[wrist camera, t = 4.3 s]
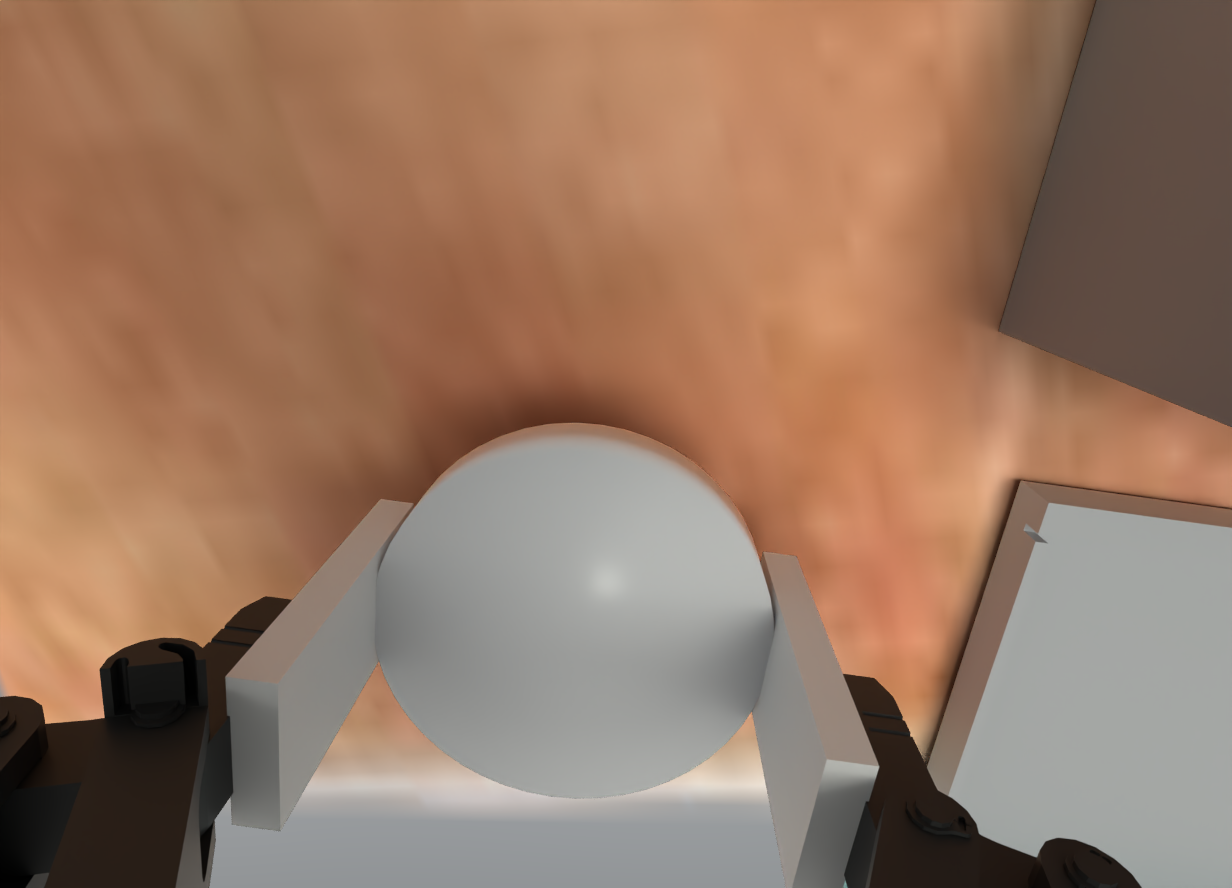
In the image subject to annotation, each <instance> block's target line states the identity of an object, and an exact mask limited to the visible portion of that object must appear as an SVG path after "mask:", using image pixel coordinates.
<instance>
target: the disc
mask: <svg viewBox="0 0 1232 888" xmlns="http://www.w3.org/2000/svg"><path fill="white" fill-rule="evenodd" d="M773 636H774V618H773V611H772V605H771V598H770V594H769V591H768V587H767V584H766V580H765V577H764V573H763V570H762V567H761V563H760V560H759V556H758V553H757V550H756V547H755V544H754V540H753V537H752V535H751V533H750V531H749V529H748V527H747V525H746V522H745V520H744V518H743V516H742V515H741V513H740V512H739V510H738V509H737V507H736V506H735V504H734V503H733V501H732V500H731V498H730V497H729V496H728V494H727V493H726V492H725V491H724V490H723V489H722V488H721V487H720V485H719V484H718V483H717V482H716V481H715V480H714V479H713V478H712V477H711V476H710V475H709V474H707V473H706V472H705V471H704V470H703V469H702V468H700V467H699V466H698V465H697V464H696V463H695V462H693V461H691V460H690V459H688V458H687V457H685V456H684V455H682V454H681V453H679V452H678V451H676V450H675V449H673V448H671V447H669V446H667V445H665V444H663V443H660V442H658V441H656V440H654V439H652V438H650V437H647V436H644V435H641V434H638V433H635V432H632V431H629V430H626V429H621V428H616V427H611V426H606V425H601V424H588V423H556V424H546V425H540V426H535V427H529V428H524V429H521V430H518V431H514V432H511V433H508V434H505V435H502V436H499V437H497V438H495V439H493V440H491V441H489V442H487V443H485V444H482V445H480V446H478V447H477V448H475V449H474V450H472V451H471V452H469V453H467V454H466V455H464V456H463V457H461V458H460V459H458V460H457V461H456V462H455V463H454V464H453V465H451V466H450V467H449V468H448V469H447V470H446V471H445V472H443V473H442V474H441V475H440V476H439V477H438V479H437V480H436V481H435V482H434V483H433V484H432V486H431V487H430V488H429V489H428V490H427V491H426V493H425V494H424V495H423V497H422V498H421V499H420V501H419V502H418V504H417V505H416V506H415V508H414V509H413V510H412V512H411V513H410V514H409V516H408V517H407V518H406V520H405V521H404V522H403V524H402V525H401V527H400V529H399V530H398V532H397V533H396V535H395V537H394V538H393V540H392V541H391V543H390V545H389V547H388V549H387V551H386V554H385V556H384V558H383V561H382V563H381V565H380V569H379V573H378V576H377V585H376V618H375V646H376V651H377V656H378V659H379V662H380V665H381V668H382V671H383V674H384V676H385V679H386V681H387V683H388V685H389V687H390V689H391V691H392V693H393V695H394V697H395V698H396V700H397V701H398V703H399V704H400V706H401V707H402V709H403V710H404V712H405V713H406V714H407V716H408V717H409V718H410V720H411V721H412V722H413V723H414V724H415V725H416V726H417V728H418V729H419V730H420V731H421V732H422V733H423V734H424V735H425V736H426V737H427V738H428V739H429V740H430V741H431V742H433V743H434V744H435V745H436V746H437V747H438V748H439V749H440V750H442V751H443V752H444V753H446V754H447V755H449V756H450V757H452V758H453V759H454V760H456V761H457V762H459V763H460V764H462V765H463V766H465V767H467V768H469V769H471V770H472V771H474V772H476V773H478V774H480V775H482V776H484V777H486V778H489V779H491V780H493V781H496V782H498V783H500V784H503V785H506V786H509V787H512V788H516V789H519V790H522V791H526V792H530V793H535V794H541V795H546V796H551V797H563V798H575V799H576V798H603V797H611V796H619V795H625V794H629V793H634V792H638V791H642V790H646V789H649V788H652V787H654V786H657V785H660V784H663V783H666V782H668V781H670V780H672V779H674V778H676V777H678V776H680V775H682V774H684V773H686V772H688V771H690V770H692V769H693V768H695V767H696V766H698V765H699V764H701V763H702V762H704V761H705V760H707V759H708V758H710V757H711V756H712V755H713V754H714V753H715V752H717V751H718V750H719V749H720V748H721V747H722V746H724V745H725V744H726V743H727V742H728V741H729V740H730V738H731V737H732V736H733V735H734V734H735V733H736V732H737V731H738V730H739V728H740V727H741V726H742V725H743V723H744V722H745V720H746V719H747V717H748V716H749V714H750V713H751V711H752V710H753V708H754V706H755V704H756V702H757V700H758V698H759V696H760V692H761V688H762V683H763V679H764V675H765V670H766V666H767V662H768V657H769V653H770V649H771V644H772V640H773Z"/></svg>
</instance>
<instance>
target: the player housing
mask: <svg viewBox="0 0 1232 888" xmlns="http://www.w3.org/2000/svg"><path fill="white" fill-rule="evenodd" d="M999 332H1001V333H1004V334H1006V335H1008V336H1011V337H1013V338H1016V339H1018V340H1021V341H1023V342H1026V343H1028V344H1030V345H1033V346H1035V347H1038V348H1040V349H1043V350H1045V351H1047V352H1050V353H1052V354H1055V355H1057V356H1060V357H1062V358H1064V359H1067V360H1069V361H1072V362H1074V363H1077V364H1079V365H1082V366H1084V367H1086V368H1089V369H1091V370H1094V371H1096V372H1099V373H1101V374H1103V375H1106V376H1108V377H1111V378H1113V379H1116V380H1118V381H1120V382H1123V383H1125V384H1128V385H1130V386H1133V387H1135V388H1138V389H1140V390H1142V391H1145V392H1147V393H1150V394H1152V395H1155V396H1157V397H1159V398H1162V399H1164V400H1167V401H1169V402H1172V403H1174V404H1176V405H1179V406H1181V407H1184V408H1186V409H1189V410H1191V411H1194V412H1196V413H1198V414H1201V415H1203V416H1206V417H1208V418H1211V419H1213V420H1215V421H1218V422H1220V423H1223V424H1225V425H1228V426H1230V427H1232V0H1096V4H1095V7H1094V11H1093V14H1092V17H1091V21H1090V24H1089V27H1088V31H1087V34H1086V38H1085V41H1084V44H1083V48H1082V51H1081V54H1080V58H1079V61H1078V65H1077V68H1076V71H1075V75H1074V78H1073V81H1072V85H1071V88H1070V92H1069V95H1068V98H1067V102H1066V105H1065V108H1064V112H1063V115H1062V119H1061V122H1060V125H1059V129H1058V132H1057V135H1056V139H1055V142H1054V146H1053V149H1052V152H1051V156H1050V159H1049V163H1048V166H1047V169H1046V173H1045V176H1044V179H1043V183H1042V186H1041V190H1040V193H1039V196H1038V200H1037V203H1036V206H1035V210H1034V213H1033V217H1032V220H1031V223H1030V227H1029V230H1028V233H1027V237H1026V240H1025V244H1024V247H1023V250H1022V254H1021V257H1020V260H1019V264H1018V267H1017V271H1016V274H1015V277H1014V281H1013V284H1012V287H1011V291H1010V294H1009V298H1008V301H1007V304H1006V308H1005V311H1004V314H1003V318H1002V321H1001V325H1000V328H999Z"/></svg>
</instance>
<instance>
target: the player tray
mask: <svg viewBox="0 0 1232 888" xmlns="http://www.w3.org/2000/svg"><path fill="white" fill-rule="evenodd" d="M927 769H928V771H929V773H930V775H931V777H932V779H933V782H934V784H935V786H936V788H937V790H938V791H940V792H942V793H944V794H946V795H948V796H949V797H951V798H953V799H954V800H955V801H956V802H958V803H959V804H960V805H961V806H962V807H964V808H965V809H966V810H967V811H968V813H969V814H970V815H971V817H972V818H973V820H974V821H975V822H976V824H977V827H978V831H979V834H980V835H982V836H984V837H986V838H988V839H991V840H993V841H995V842H997V843H1000V844H1002V845H1005V846H1008V847H1010V848H1013V849H1016V850H1018V851H1021V852H1023V853H1026V854H1029V855H1031V856H1034V857H1037V856H1038V853H1039V851H1040V849H1041V847H1042V846H1043V844H1044V843H1045V841H1048V840H1051V839H1055V838H1066V839H1075V840H1078V841H1080V842H1083V843H1086V844H1088V845H1091V846H1094V847H1096V848H1098V849H1099V850H1101V851H1102V852H1104V853H1106V854H1107V855H1109V856H1111V857H1112V858H1114V859H1115V860H1117V861H1118V862H1119V863H1120V864H1121V865H1122V866H1123V867H1125V868H1126V869H1127V870H1128V871H1129V872H1130V873H1131V874H1132V875H1133V876H1134V877H1135V879H1136V880H1137V882H1138V883H1139V884H1140V886H1141V887H1142V888H1232V510H1231V509H1224V508H1217V507H1209V506H1202V505H1195V504H1188V503H1180V502H1173V501H1166V500H1159V499H1151V498H1144V497H1137V496H1129V495H1122V494H1115V493H1108V492H1100V491H1093V490H1086V489H1079V488H1071V487H1064V486H1057V485H1050V484H1042V483H1035V482H1028V481H1020V484H1019V487H1018V490H1017V494H1016V497H1015V500H1014V503H1013V506H1012V509H1011V512H1010V515H1009V518H1008V521H1007V524H1006V527H1005V530H1004V533H1003V536H1002V539H1001V542H1000V546H999V549H998V552H997V555H996V558H995V561H994V564H993V567H992V570H991V573H990V576H989V579H988V582H987V585H986V588H985V591H984V594H983V598H982V601H981V604H980V607H979V610H978V613H977V616H976V619H975V622H974V625H973V628H972V631H971V634H970V637H969V640H968V643H967V646H966V650H965V653H964V656H963V659H962V662H961V665H960V668H959V671H958V674H957V677H956V680H955V683H954V686H953V689H952V692H951V695H950V698H949V702H948V705H947V708H946V711H945V714H944V717H943V720H942V723H941V726H940V729H939V732H938V735H937V738H936V741H935V744H934V747H933V750H932V754H931V757H930V760H929V763H928V766H927ZM843 888H848V887H847V884H846V880H845V882H844V886H843Z"/></svg>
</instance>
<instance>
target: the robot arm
mask: <svg viewBox="0 0 1232 888" xmlns="http://www.w3.org/2000/svg"><path fill="white" fill-rule="evenodd" d="M413 509H414V503H407V502H400V501H393V500H385V499H380V500H379V501H378V502H377V504H376V505H375V506H374V507H373V508H372V509H371V510H370V512H369V513H368V514H367V515H366V516H365V517H364V518H363V520H362V521H361V522H360V523H359V524H358V525H357V526H356V528H355V529H354V530H353V531H352V532H351V533H350V534H349V536H348V537H347V538H346V539H345V540H344V541H343V543H342V544H341V545H340V546H339V547H338V548H337V549H336V551H335V552H334V553H333V554H332V555H331V556H330V557H329V559H328V560H327V561H326V562H325V563H324V564H323V565H322V567H321V568H320V569H319V570H318V571H317V572H316V573H315V575H314V576H313V577H312V578H311V579H310V580H309V581H308V583H307V584H306V585H305V586H304V587H303V588H302V589H301V591H300V592H299V593H298V594H297V595H296V596H295V597H294V599H293V600H289V599H282V598H274V597H267V596H265V597H263V598H262V599H260V600H258V601H256V602H254V603H252V604H250V605H248V606H246V607H244V608H242V609H241V610H240V611H239V612H238V613H237V614H236V615H235V616H234V617H233V618H232V619H231V620H230V621H229V622H228V623H227V624H226V625H225V628H224V629H221V630H220V631H219V632H218V633H217V634H216V635H215V636H214V637H213V638H212V641H211V643H210V642H208V643H207V644H206V646H205V647H204V648H202V647H200V646H199V645H198V644H197V643H195V642H192V641H189V640H185V639H181V638H159V639H153V640H148V641H142V642H139V643H136V644H134V645H131V646H128V647H126V648H123V649H121V650H120V651H118V652H117V653H115V654H114V655H112V656H111V657H109V658H108V659H107V660H106V662H105V663H104V664H103V666H102V667H101V668H100V677H101V687H102V696H103V705H104V715H105V718H101V719H95V720H87V721H75V722H63V723H51V724H45V719H44V713H43V709H42V705H40V704H39V703H37V702H36V701H34V700H33V699H30V698H24V697H18V696H8V697H0V888H209V886H210V878H211V871H212V864H213V856H214V849H215V841H216V839H215V821H214V820H215V818H216V817H217V815H218V814H219V812H220V811H221V810H222V808H223V807H224V805H225V804H226V802H227V801H228V799H229V798H230V797H231V815H232V825H238V826H245V827H253V828H260V829H268V830H275V831H281V829H282V828H283V826H284V824H285V822H286V821H287V819H288V817H289V816H290V814H291V812H292V810H293V809H294V807H295V805H296V804H297V802H298V800H299V798H300V797H301V795H302V793H303V791H304V790H305V788H306V786H307V784H308V783H309V781H310V779H311V778H312V776H313V774H314V772H315V771H316V769H317V767H318V765H319V764H320V762H321V760H322V758H323V757H324V755H325V753H326V752H327V750H328V748H329V746H330V745H331V743H332V741H333V739H334V738H335V736H336V734H337V732H338V731H339V729H340V727H341V726H342V724H343V722H344V720H345V719H346V717H347V715H348V713H349V712H350V710H351V708H352V706H353V705H354V703H355V701H356V700H357V698H358V696H359V694H360V693H361V691H362V689H363V687H364V686H365V684H366V682H367V680H368V679H369V677H370V675H371V674H372V672H373V670H374V668H375V667H376V665H377V663H378V661H379V659H378V656H377V651H376V646H375V618H376V585H377V576H378V573H379V569H380V565H381V563H382V561H383V558H384V556H385V554H386V551H387V549H388V547H389V545H390V543H391V541H392V540H393V538H394V537H395V535H396V533H397V532H398V530H399V529H400V527H401V525H402V524H403V522H404V521H405V520H406V518H407V517H408V516H409V514H410V513H411V512H412V510H413ZM761 567H762V570H763V573H764V577H765V580H766V584H767V587H768V591H769V594H770V598H771V605H772V611H773V618H774V636H773V640H772V644H771V649H770V653H769V657H768V662H767V666H766V670H765V675H764V679H763V683H762V688H761V692H760V696H759V698H758V700H757V702H756V704H755V706H754V708H753V710H752V715H753V720H754V725H755V730H756V736H757V741H758V746H759V751H760V757H761V762H762V767H763V772H764V777H765V783H766V788H767V793H768V798H769V803H770V809H771V814H772V819H773V824H774V829H775V835H776V840H777V845H778V850H779V855H780V861H781V865H782V871H783V876H784V881H785V886H786V888H843V886H844V882H845V880H846V884H847V887H848V888H1142V887H1141V886H1140V884H1139V883H1138V882H1137V880H1136V879H1135V877H1134V876H1133V875H1132V874H1131V873H1130V872H1129V871H1128V870H1127V869H1126V868H1125V867H1123V866H1122V865H1121V864H1120V863H1119V862H1118V861H1117V860H1115V859H1114V858H1112V857H1111V856H1109V855H1107V854H1106V853H1104V852H1102V851H1101V850H1099V849H1098V848H1096V847H1094V846H1091V845H1088V844H1086V843H1083V842H1080V841H1078V840H1075V839H1066V838H1055V839H1051V840H1048V841H1045V843H1044V844H1043V846H1042V847H1041V849H1040V851H1039V853H1038V856H1037V857H1034V856H1031V855H1029V854H1026V853H1023V852H1021V851H1018V850H1016V849H1013V848H1010V847H1008V846H1005V845H1002V844H1000V843H997V842H995V841H993V840H991V839H988V838H986V837H984V836H982V835H980V834H979V831H978V827H977V824H976V822H975V821H974V820H973V818H972V817H971V815H970V814H969V813H968V811H967V810H966V809H965V808H964V807H962V806H961V805H960V804H959V803H958V802H956V801H955V800H954V799H953V798H951V797H949V796H948V795H946V794H944V793H942V792H940V791H938V790H937V788H936V786H935V784H934V782H933V779H932V777H931V775H930V773H929V771H928V769H927V767H926V765H925V763H924V761H923V758H922V756H921V754H920V752H919V750H918V748H917V746H916V744H915V742H914V740H913V737H910V731H909V729H908V727H907V725H906V723H905V721H903V720H902V718H903V716H902V714H901V712H900V710H899V708H898V706H897V704H896V702H895V700H894V698H893V696H892V695H891V694H890V693H889V692H888V691H887V690H886V689H885V688H884V687H883V686H882V685H881V684H880V683H879V682H878V681H877V680H876V679H875V678H870V677H862V676H855V675H848V674H843V673H842V671H841V668H840V666H839V663H838V661H837V658H836V656H835V653H834V650H833V648H832V645H831V643H830V640H829V638H828V635H827V633H826V630H825V628H824V625H823V623H822V620H821V618H820V615H819V612H818V610H817V607H816V605H815V602H814V600H813V597H812V595H811V592H810V590H809V587H808V585H807V582H806V579H805V577H804V574H803V572H802V569H801V567H800V564H799V562H798V559H797V557H796V556H793V555H785V554H778V553H771V552H764V551H763V553H762V558H761Z"/></svg>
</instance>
